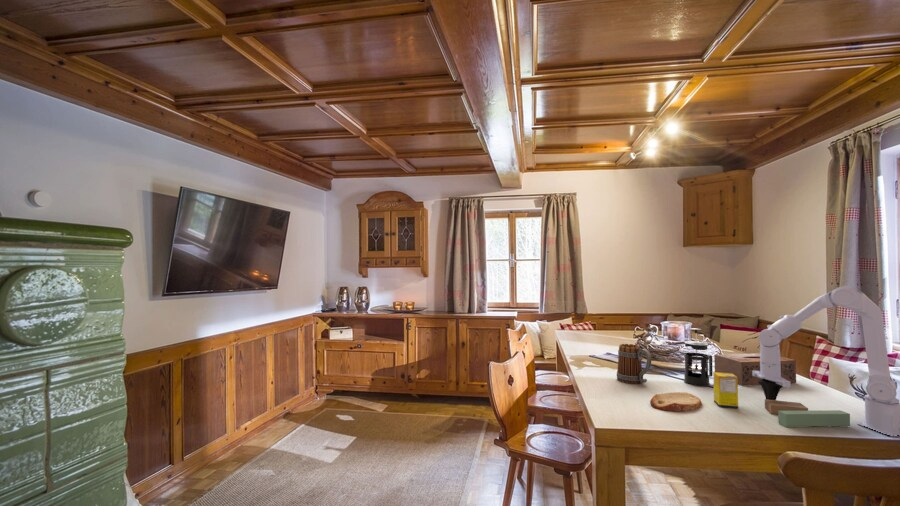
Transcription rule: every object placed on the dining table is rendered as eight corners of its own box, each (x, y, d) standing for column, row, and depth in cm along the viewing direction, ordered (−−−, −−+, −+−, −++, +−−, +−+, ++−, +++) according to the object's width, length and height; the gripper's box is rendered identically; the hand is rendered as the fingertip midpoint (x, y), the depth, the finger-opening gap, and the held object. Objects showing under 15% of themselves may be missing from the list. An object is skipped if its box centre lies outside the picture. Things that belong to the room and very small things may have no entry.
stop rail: (850, 426, 127) (849, 413, 127) (786, 427, 127) (786, 414, 127) (840, 423, 130) (840, 410, 130) (778, 423, 130) (778, 410, 130)
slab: (808, 419, 134) (808, 408, 134) (771, 415, 138) (771, 404, 138) (800, 413, 140) (800, 402, 140) (764, 409, 143) (764, 399, 143)
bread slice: (697, 399, 154) (696, 389, 154) (712, 416, 136) (712, 405, 136) (644, 395, 159) (644, 385, 159) (652, 410, 142) (652, 400, 142)
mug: (611, 378, 180) (610, 344, 180) (628, 376, 184) (628, 342, 185) (641, 388, 166) (640, 351, 166) (659, 385, 170) (659, 349, 171)
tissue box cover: (765, 375, 188) (765, 353, 188) (796, 384, 174) (795, 360, 174) (714, 376, 185) (714, 354, 185) (741, 386, 170) (741, 362, 171)
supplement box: (732, 403, 148) (731, 372, 149) (738, 408, 143) (738, 377, 143) (713, 401, 150) (712, 371, 150) (718, 407, 144) (718, 375, 145)
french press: (691, 386, 169) (690, 330, 169) (677, 380, 178) (677, 326, 179) (719, 386, 169) (718, 330, 170) (704, 379, 179) (703, 326, 179)
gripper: (744, 358, 153) (744, 395, 152) (775, 368, 138) (776, 409, 138) (762, 358, 153) (763, 395, 152) (796, 368, 138) (797, 409, 138)
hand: (770, 402), depth 145 cm, fingers closed
